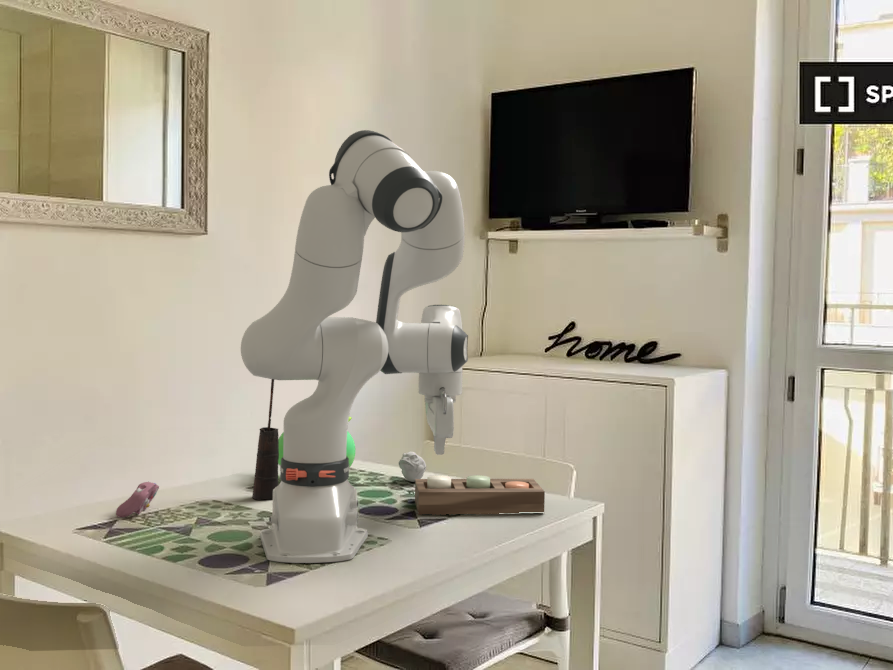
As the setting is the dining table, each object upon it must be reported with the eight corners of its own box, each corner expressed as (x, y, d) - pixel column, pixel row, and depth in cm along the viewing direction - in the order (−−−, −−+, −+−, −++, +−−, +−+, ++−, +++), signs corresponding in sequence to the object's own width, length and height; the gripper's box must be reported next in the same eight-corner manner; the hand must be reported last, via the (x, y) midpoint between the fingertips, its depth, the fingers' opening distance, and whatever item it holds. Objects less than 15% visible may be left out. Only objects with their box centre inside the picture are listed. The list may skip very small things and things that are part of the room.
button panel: (544, 514, 179) (544, 491, 178) (418, 514, 176) (418, 492, 176) (532, 499, 190) (533, 478, 190) (414, 500, 188) (415, 479, 188)
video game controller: (134, 526, 170) (151, 494, 170) (112, 515, 170) (129, 483, 170) (150, 513, 180) (166, 482, 180) (130, 503, 180) (145, 472, 179)
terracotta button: (530, 498, 182) (530, 486, 182) (507, 498, 181) (507, 486, 181) (526, 493, 187) (526, 481, 186) (503, 493, 186) (503, 481, 186)
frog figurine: (392, 482, 205) (392, 452, 204) (411, 477, 211) (411, 447, 210) (413, 486, 201) (413, 455, 201) (432, 481, 207) (432, 450, 207)
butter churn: (260, 506, 180) (261, 367, 179) (230, 499, 186) (231, 364, 185) (295, 498, 188) (296, 365, 186) (265, 491, 194) (266, 362, 192)
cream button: (452, 492, 180) (452, 480, 180) (428, 492, 180) (428, 480, 180) (449, 487, 185) (449, 475, 185) (426, 487, 184) (426, 475, 184)
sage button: (491, 492, 181) (491, 480, 181) (467, 492, 180) (468, 480, 180) (488, 487, 186) (488, 475, 186) (465, 487, 185) (465, 475, 185)
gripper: (462, 391, 171) (460, 463, 172) (450, 380, 192) (449, 444, 192) (429, 391, 171) (427, 463, 171) (421, 380, 191) (420, 444, 192)
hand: (439, 453), depth 182 cm, fingers closed
